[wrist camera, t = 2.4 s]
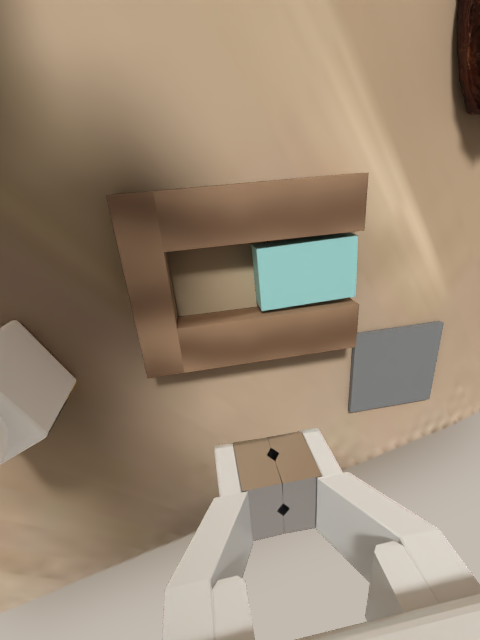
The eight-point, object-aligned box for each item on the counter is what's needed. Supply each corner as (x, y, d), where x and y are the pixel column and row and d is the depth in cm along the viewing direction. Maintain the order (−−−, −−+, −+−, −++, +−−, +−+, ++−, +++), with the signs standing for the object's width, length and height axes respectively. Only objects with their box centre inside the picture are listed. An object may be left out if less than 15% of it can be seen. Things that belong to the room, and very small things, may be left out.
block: (250, 243, 27) (256, 249, 24) (343, 231, 27) (357, 235, 25) (255, 300, 29) (261, 311, 26) (342, 287, 29) (355, 296, 27)
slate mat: (353, 333, 31) (355, 335, 30) (439, 320, 32) (443, 322, 32) (348, 409, 35) (350, 412, 34) (426, 396, 36) (429, 398, 35)
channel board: (113, 194, 23) (106, 195, 21) (351, 173, 25) (368, 172, 23) (150, 362, 29) (147, 378, 27) (343, 334, 31) (355, 346, 29)
